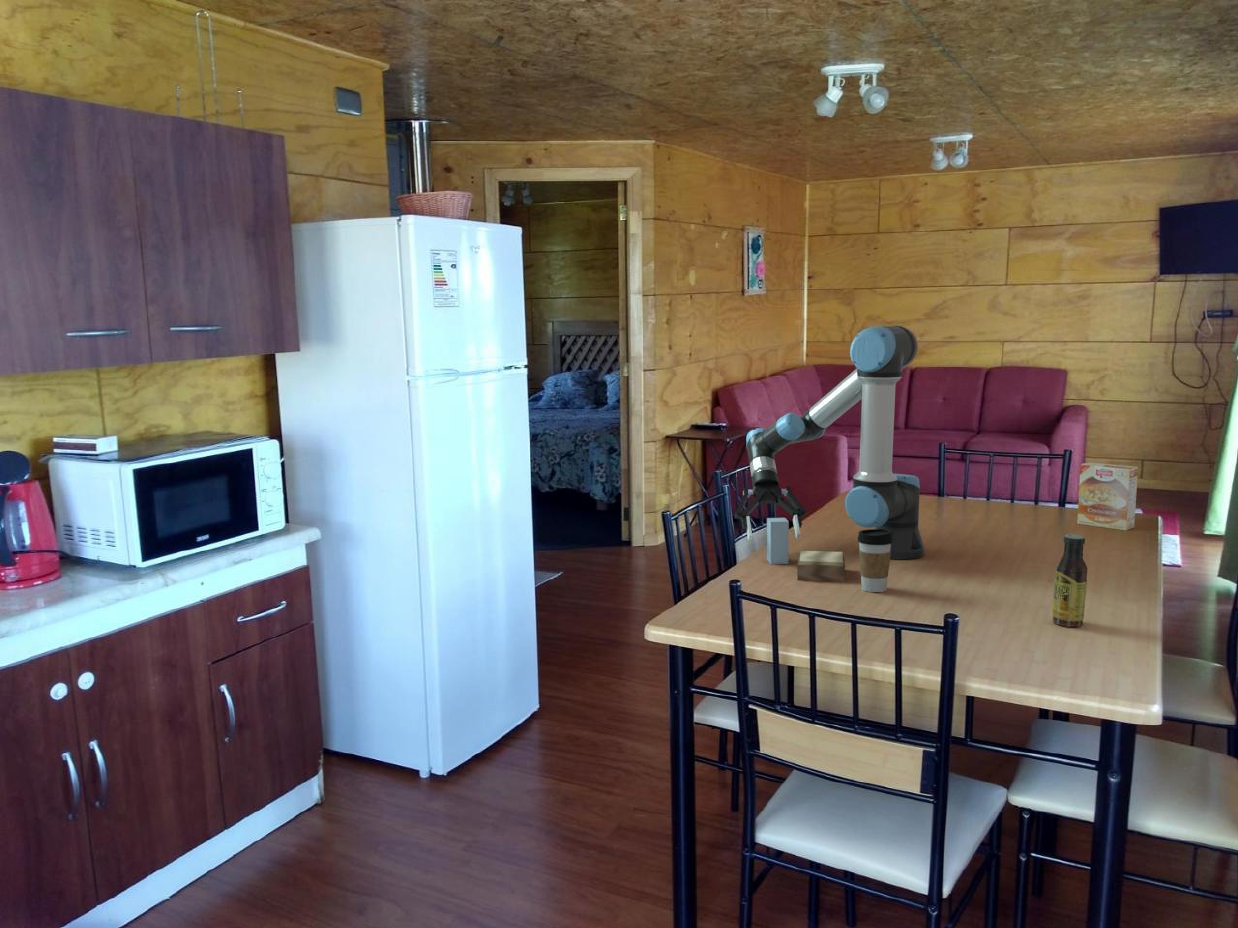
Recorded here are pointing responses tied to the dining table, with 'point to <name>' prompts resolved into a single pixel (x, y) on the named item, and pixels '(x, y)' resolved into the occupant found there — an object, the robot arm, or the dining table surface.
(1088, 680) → the dining table surface
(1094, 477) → the coffeecake box
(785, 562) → the block
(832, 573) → the pedestal
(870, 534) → the coffee cup
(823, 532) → the dining table surface
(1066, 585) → the sauce bottle
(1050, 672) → the dining table surface
